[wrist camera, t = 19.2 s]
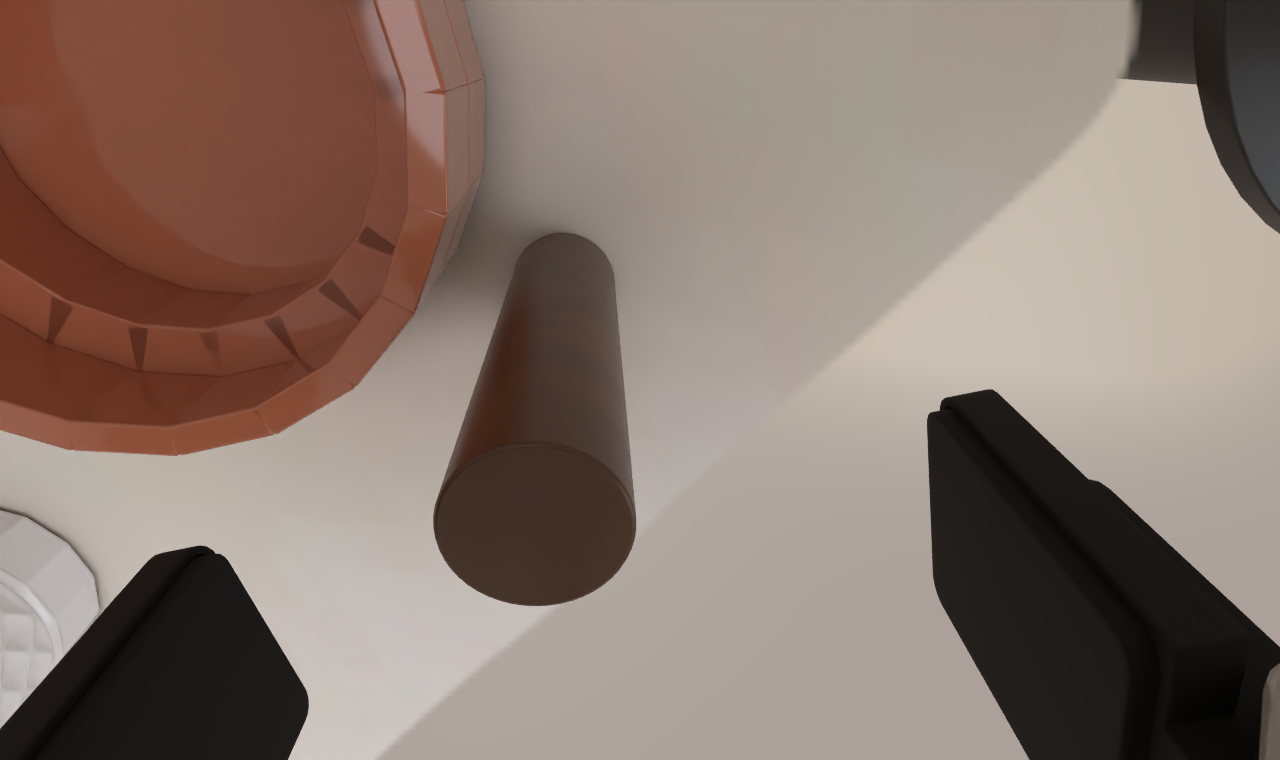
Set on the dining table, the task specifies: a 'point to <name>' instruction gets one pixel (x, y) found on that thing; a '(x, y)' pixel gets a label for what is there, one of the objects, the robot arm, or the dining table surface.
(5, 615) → the white cup
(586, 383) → the dark brown cylinder
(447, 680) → the dining table surface
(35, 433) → the bowl
